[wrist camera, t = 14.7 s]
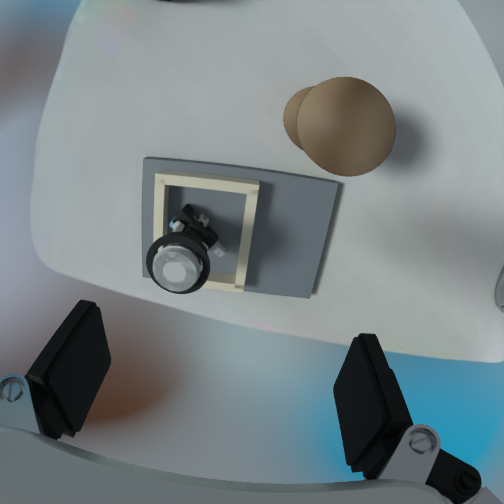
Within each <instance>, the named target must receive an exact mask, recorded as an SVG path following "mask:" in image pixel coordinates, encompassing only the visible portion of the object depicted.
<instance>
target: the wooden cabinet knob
mask: <svg viewBox="0 0 504 504" xmlns="http://www.w3.org/2000/svg"><path fill="white" fill-rule="evenodd" d="M284 126H285V129H286V132H287V134H288V136H289V138H290V139H291V140H292V141H293V143H294V144H296V145H297V146H298V147H299V148H300V149H302V150H304V151H305V153H306V154H307V155H308V156H309V158H311V159H312V160H313V161H314V162H315V163H316V164H317V165H318V166H319V167H321V168H322V169H324V170H326V171H328V172H330V173H332V174H336V175H339V176H359V175H362V174H365V173H368V172H370V171H372V170H373V169H375V168H376V167H378V166H379V165H380V164H381V163H382V162H383V161H384V160H385V159H386V157H387V156H388V154H389V153H390V151H391V149H392V146H393V143H394V140H395V133H396V125H395V118H394V114H393V111H392V109H391V106H390V104H389V103H388V101H387V100H386V98H385V97H384V95H383V94H382V93H381V92H380V91H379V90H378V89H376V88H375V87H374V86H372V85H371V84H369V83H367V82H365V81H363V80H360V79H357V78H352V77H337V78H332V79H329V80H326V81H324V82H321V83H320V84H318V85H316V86H313V87H308V88H306V89H303V90H301V91H299V92H298V93H296V94H295V95H294V96H293V97H292V98H291V99H290V100H289V102H288V104H287V106H286V108H285V112H284Z"/></svg>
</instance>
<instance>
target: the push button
mask: <svg viewBox="0 0 504 504" xmlns="http://www.w3.org/2000/svg"><path fill="white" fill-rule="evenodd" d="M203 217H204V218H205V219H206V220H205V219H204V218H203ZM208 222H209V220H208V218H207V217H205V216H204V215H203V214H201V215H200V217H197V216H196V215H195V214H194V209H193V208H192V207H191V206H190V205H189V204H186V205H185V206H184V207H183V208H182V209H181V210H180V211H179V212H178V214H177V215H176V216H175V217H174V218H173V220H172V221H171V222H170V224H169V225H170V227H171V228H172V229H173V232H170V233H169V234H167V235H165V236H162V237H160V238H158V239H157V240H156V241H155V242H154V243H153V244H152V245H151V247H150V248H149V250H148V252H147V256H146V266H147V270H148V273H149V275H150V276H151V278H152V279H153V281H154V282H155V283H156V284H157V285H158V286H160V287H161V288H163V289H165V290H167V291H169V292H172V293H177V294H187V293H191V292H194V291H196V290H198V289H200V288H201V287H202V286H203V285H204V284H205V283H206V281H207V279H208V277H209V273H210V259H209V256H208V254H207V251H208V250H210V251H211V252H212V251H213V252H214V253H215V254H217V255H218V256H219V257H222V256H223V255H224V254H225V252H224V251H225V250H226V248H225V247H223V246H222V245H221V244H220V243H219V242H220V241H219V240H218V235H217V234H216V233H215V232H214V231H213V230H212V229H211V228H210V227H209V226H207V224H208ZM164 244H165V245H164ZM162 245H164V246H163V248H162V249H160V250H159V251H158V249H159V248H160V247H161V246H162ZM220 247H222V249H221V248H220ZM218 252H220V253H221V254H218ZM201 263H202V266H203V269H202V271H201V272H200V266H201Z"/></svg>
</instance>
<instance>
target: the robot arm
mask: <svg viewBox="0 0 504 504" xmlns="http://www.w3.org/2000/svg"><path fill="white" fill-rule="evenodd" d="M495 302H496V305H497V307H498V308H499V309H500V310H501V311H502V312H503V313H504V269H503V271H502V273H501V275H500V277H499V280H498V283H497V286H496V291H495ZM110 364H111V356H110V352H109V348H108V343H107V340H106V335H105V331H104V326H103V321H102V316H101V311H100V308H99V307H97V306H96V303H95V302H91V301H86V300H80V301H79V302H78V303H77V304H76V306H75V307H74V308H73V310H72V311H71V312H70V313H69V315H68V316H67V317H66V319H65V320H64V321H63V323H62V324H61V326H60V327H59V328H58V329H57V331H56V332H55V333H54V335H53V336H52V338H51V339H50V340H49V342H48V343H47V345H46V346H45V347H44V349H43V350H42V352H41V353H40V355H39V356H38V358H37V359H36V361H35V362H34V363H33V365H32V366H31V368H30V369H29V371H28V372H27V374H26V375H25V377H23V376H21V375H18V374H8V375H6V376H4V377H2V378H1V379H0V504H503V503H502V502H501V501H500V500H499V499H498V498H497V497H496V496H495V495H494V494H493V493H492V492H491V491H490V490H489V489H488V488H487V487H484V488H482V487H481V477H480V474H479V472H478V471H477V470H476V469H475V468H474V467H472V466H471V465H468V464H467V463H465V462H463V461H461V460H459V459H458V458H456V457H454V456H453V455H451V454H449V453H447V452H446V451H444V450H442V449H440V445H441V443H440V438H439V436H438V434H437V433H436V431H435V430H434V429H432V428H431V427H429V426H427V425H424V424H417V425H413V422H412V419H411V416H410V414H409V411H408V408H407V406H406V403H405V400H404V397H403V395H402V392H401V390H400V387H399V384H398V382H397V379H396V377H395V374H394V372H393V370H392V369H390V368H389V365H388V363H387V360H386V358H385V355H384V353H383V350H382V348H381V346H380V343H379V341H378V338H377V336H376V335H375V334H366V333H361V334H359V335H358V337H354V339H353V341H352V343H351V346H350V348H349V351H348V354H347V356H346V358H345V361H344V363H343V365H342V368H341V370H340V372H339V375H338V377H337V379H336V382H335V384H334V389H333V391H334V392H333V393H334V398H335V403H336V408H337V413H338V419H339V424H340V429H341V435H342V440H343V446H344V452H345V458H346V463H347V465H348V466H351V470H352V473H353V472H362V471H363V476H364V477H365V478H364V480H362V481H349V482H335V483H313V484H312V483H311V484H310V483H309V484H271V483H251V482H237V481H226V480H216V479H208V478H201V477H194V476H188V475H181V474H176V473H171V472H165V471H160V470H155V469H151V468H147V467H142V466H138V465H134V464H130V463H126V462H122V461H119V460H115V459H112V458H108V457H105V456H102V455H98V454H95V453H92V452H89V451H86V450H83V449H80V448H77V447H74V446H71V445H68V444H65V443H63V442H61V441H60V438H61V435H62V434H65V435H68V436H70V437H74V435H75V433H76V431H77V432H79V431H80V430H81V428H82V426H83V423H84V421H85V419H86V417H87V414H88V412H89V410H90V408H91V405H92V403H93V401H94V399H95V397H96V394H97V392H98V390H99V388H100V386H101V384H102V381H103V379H104V377H105V375H106V373H107V371H108V369H109V367H110Z"/></svg>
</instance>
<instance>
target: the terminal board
mask: <svg viewBox="0 0 504 504" xmlns="http://www.w3.org/2000/svg"><path fill="white" fill-rule="evenodd" d="M337 188H338V183H337V182H336V181H333V180H328V179H322V178H317V177H311V176H305V175H299V174H293V173H287V172H280V171H274V170H267V169H260V168H253V167H245V166H237V165H229V164H221V163H212V162H202V161H192V160H182V159H170V158H157V157H146V158H144V159H143V179H142V268H143V277H147V278H151V276H150V275H149V273H148V270H147V266H146V256H147V252H148V250H149V248H150V247H151V245H152V244H153V243H154V242H155V241H156V240H157V239H158V238H160V237H162V236H165V235H167V234H169V233H170V232H173V229H172V228H171V227H170V225H169V224H170V222H171V221H172V220H173V218H174V217H175V216H176V215H177V214H178V212H179V211H180V210H181V209H182V208H183V207H184V206H185V205H186V204H189V205H190V206H191V207H192V208H193V209H194V214H195V215H196V216H197V217H200V215H201V214H203V215H204V216H205V217H207V218H208V220H209V222H208V224H207V226H209V227H210V228H211V229H212V230H213V231H214V232H215V233H216V234H217V235H218V240H219V241H220V242H219V243H220V244H221V245H222V246H223V247H225V248H226V250H225V251H224V252H225V254H224V255H223V256H222V257H219V256H218V255H217V254H215V253H214V252H213V251H212V252H211V251H210V250H208V251H207V254H208V256H209V259H210V273H209V277H208V279H207V281H206V283H205V284H204V285H203V286H202V287H201V288H206V289H214V290H221V291H229V292H237V293H243V291H248V292H256V293H264V294H273V295H282V296H291V297H300V298H310V296H311V292H312V289H313V285H314V281H315V278H316V274H317V270H318V266H319V263H320V259H321V255H322V251H323V247H324V243H325V239H326V235H327V231H328V227H329V223H330V218H331V214H332V210H333V205H334V201H335V197H336V192H337ZM203 218H204V217H203ZM204 219H205V218H204ZM205 220H206V219H205ZM164 245H165V244H164ZM164 245H162V246H161V247H160V248H159V249H158V251H159V250H160V249H162V248H163V246H164ZM220 248H221V249H222V247H220ZM218 254H221V253H220V252H218ZM202 269H203V266H202V263H201V266H200V272H201V271H202Z"/></svg>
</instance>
